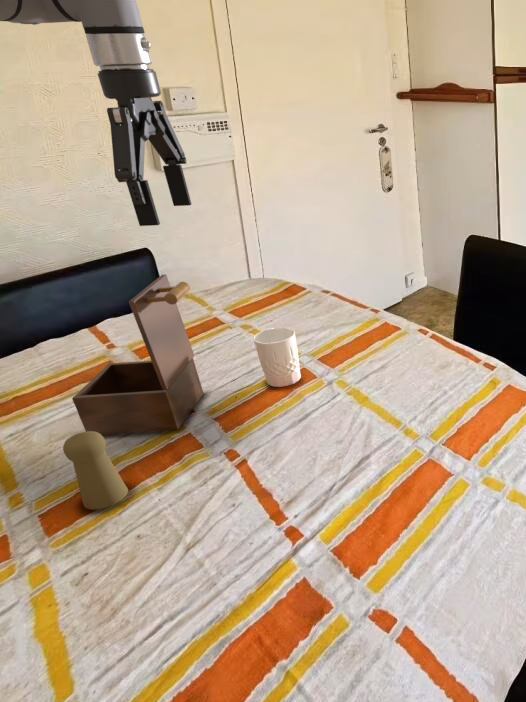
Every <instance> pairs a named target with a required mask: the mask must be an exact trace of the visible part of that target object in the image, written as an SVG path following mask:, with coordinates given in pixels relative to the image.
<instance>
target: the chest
mask: <svg viewBox="0 0 526 702" xmlns="http://www.w3.org/2000/svg"><path fill="white" fill-rule="evenodd" d="M203 395H204V389H203V387H202V384H201V380H200V377H199V373H198V369H197V367H196V363H195V360H194V357H193V358H192V359H191V361H190V362H189V363H188V364H187V366H186V367H185V368H184V369H183V370H182V372H181V373H180V374H179V375H178V377H177V378H176V379H175V380H174V382H173V383H172V384H171V385H170V386H169V388H168V389H167V390H163V389H162V387H161V384H160V382H159V379H158V377H157V374H156V371H155V369H154V366H153V364H152V361H151V360H142V361H141V360H140V361H126V362H124V361H123V362H111V363H110V362H109V363H107V365H106V366H105V367H104V368H103V369H101V371H99V373H97V374H96V375H95V376H94V377H93V378H92V379H90V381H89V382H88V383H86V385H84V386H83V387H82V389H80V390H79V391H78V392H77V393H76V394H75V395H74V396H73V397H72V398H71V400H72V402H73V404H74V406H75V409H76V411H77V413H78V416H79V419H80V421H81V424H82V426H83V428H84V430H85V431H84V432H86V431H94V432H97V433H99V434H101V435H102V436H108V435H109V436H110V435H123V434H136V433H137V434H138V433H139V434H140V433H152V432H166V431H167V432H169V431H178V430H179V429H180V428H181V427H182V425H183V424H184V422H185V421H186V419H187V418H188V417H189V415H190V413H191V412H192V410H193V409H195V406H196V405H197V403H198V402H199V400H200V399H201V398H202V396H203Z"/></svg>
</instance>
